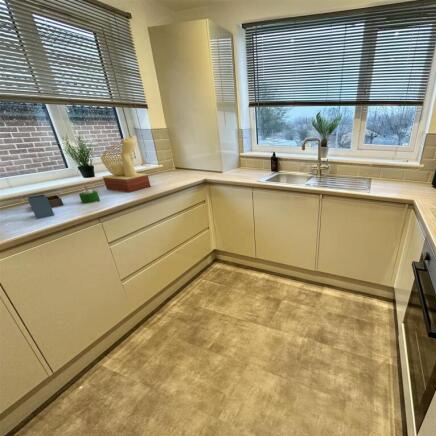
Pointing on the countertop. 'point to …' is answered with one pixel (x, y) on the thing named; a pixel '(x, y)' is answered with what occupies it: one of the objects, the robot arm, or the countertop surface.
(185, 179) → the countertop surface
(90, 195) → the candle
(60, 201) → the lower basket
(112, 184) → the cream sculpture
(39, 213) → the grey rectangular block
